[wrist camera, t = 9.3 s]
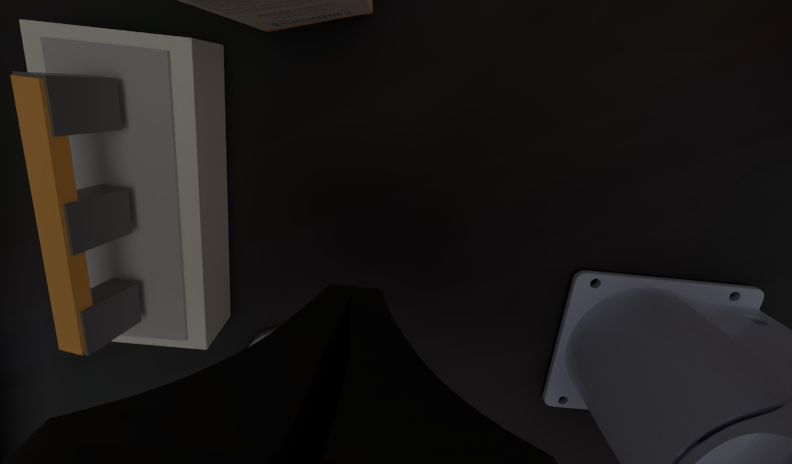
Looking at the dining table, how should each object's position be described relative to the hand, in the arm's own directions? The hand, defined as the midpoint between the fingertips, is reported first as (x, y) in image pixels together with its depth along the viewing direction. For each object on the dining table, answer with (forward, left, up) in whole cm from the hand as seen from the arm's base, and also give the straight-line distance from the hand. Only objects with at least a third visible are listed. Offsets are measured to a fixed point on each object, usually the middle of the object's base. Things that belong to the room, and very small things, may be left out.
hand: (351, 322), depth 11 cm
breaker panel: (+10, 0, -10) cm, 14 cm away
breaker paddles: (+10, 0, -7) cm, 12 cm away
